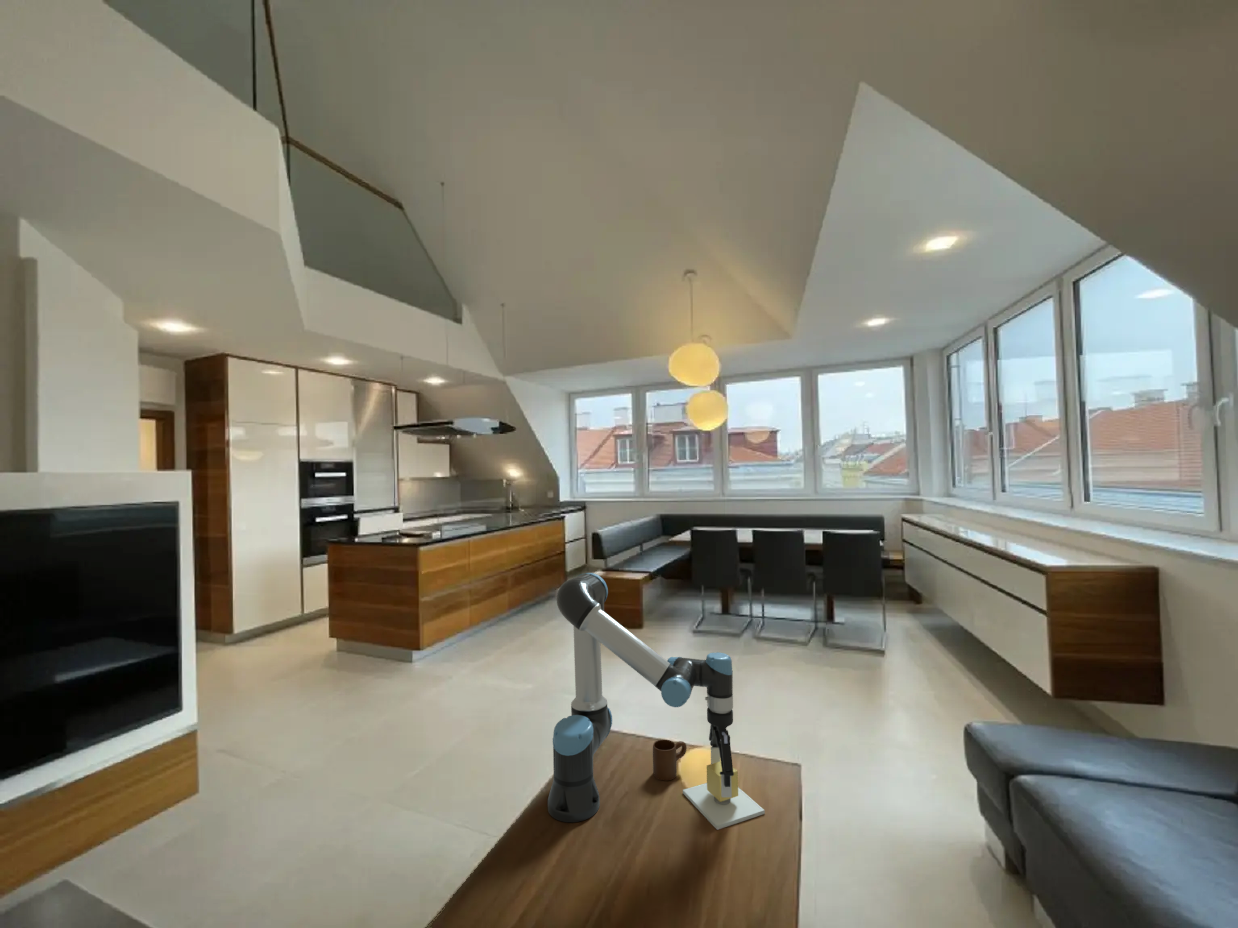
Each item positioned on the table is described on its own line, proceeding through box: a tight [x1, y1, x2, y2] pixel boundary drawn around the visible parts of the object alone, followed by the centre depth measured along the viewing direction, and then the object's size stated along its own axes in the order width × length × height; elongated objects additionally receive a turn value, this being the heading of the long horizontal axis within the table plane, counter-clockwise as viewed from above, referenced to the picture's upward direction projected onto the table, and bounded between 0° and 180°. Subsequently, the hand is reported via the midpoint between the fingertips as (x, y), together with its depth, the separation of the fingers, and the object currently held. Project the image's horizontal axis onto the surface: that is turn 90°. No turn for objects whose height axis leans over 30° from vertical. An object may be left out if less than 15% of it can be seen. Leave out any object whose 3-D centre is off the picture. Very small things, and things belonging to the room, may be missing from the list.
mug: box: [652, 739, 688, 781], centre depth 163 cm, size 12×8×9 cm, turn 114°
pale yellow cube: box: [706, 760, 739, 802], centre depth 147 cm, size 6×6×7 cm
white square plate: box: [682, 782, 765, 830], centre depth 147 cm, size 18×16×9 cm
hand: (720, 782), depth 147 cm, fingers open, 13 cm apart
